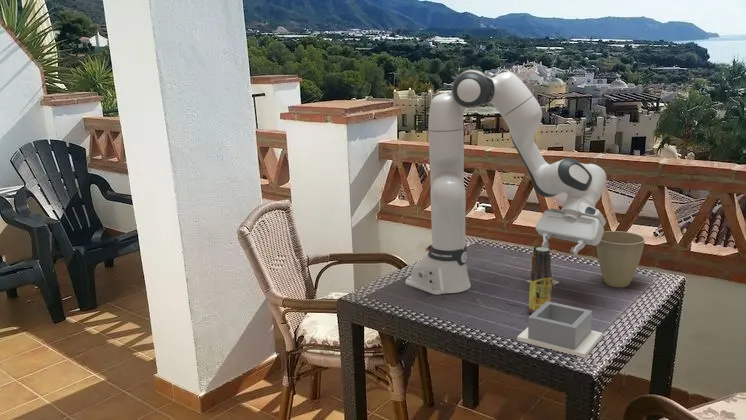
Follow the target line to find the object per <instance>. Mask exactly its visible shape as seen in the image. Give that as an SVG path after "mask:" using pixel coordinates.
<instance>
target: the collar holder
mask: <svg viewBox="0 0 746 420" xmlns="http://www.w3.org/2000/svg"><path fill="white" fill-rule="evenodd" d="M527 323H528V326H527V327H526V328H525V329H524V330H523V331H522V332H521V333H520V334H518V335H517V339H516V341H518V342H521V343H525V344H529V345H532V346H536V347H540V348H544V349H548V350H551V349H552V351H555V352H558V351H559V352H560V353H562V352H563V353H562V354H566V353H567V354H566V355H570V354H571V355H570V356H574V355H576V356H575V357H577V356H580V357H579V358H581V357H582V359H586V357H587V356H588V355H589V354H590V353H591V351H592V350H593V349H594V348H595V347H596V345H597V344H598V343H599V342H600V341H601V339H603V336H604V335H603V332H600V331H597V330H592V323H593V310H590V309H585V308H579V307H576V306H571V305H567V304H561V303H557V302H552V301H551V302H548V301H547V302H545V303H544V304H543V305H542V306H541V307H540V308H538V309H537V310H536V311H535V312H534V313H533V314H530V315H529V316H528V322H527Z"/></svg>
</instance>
